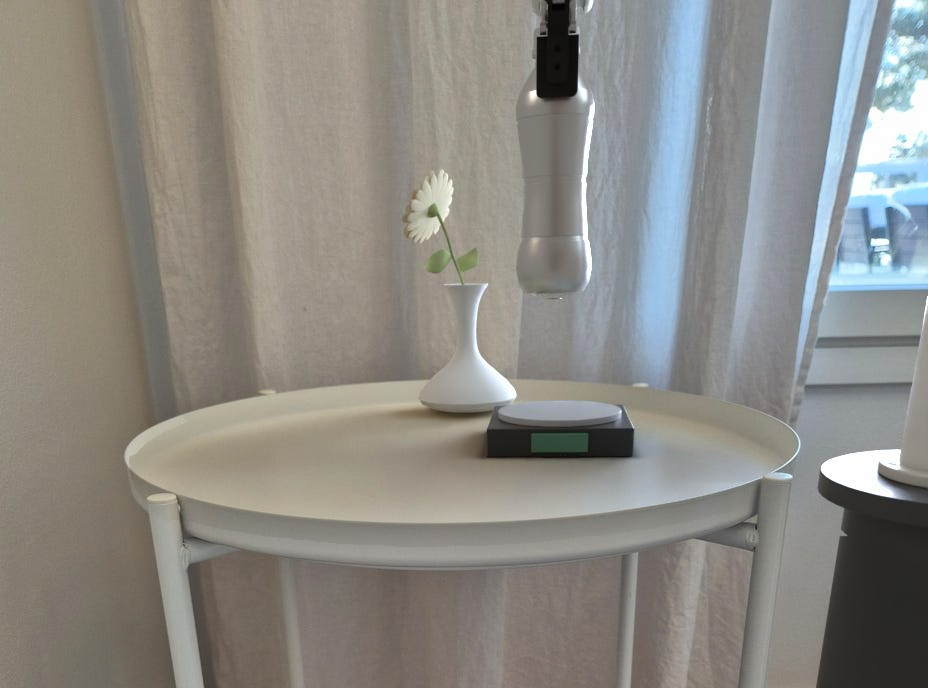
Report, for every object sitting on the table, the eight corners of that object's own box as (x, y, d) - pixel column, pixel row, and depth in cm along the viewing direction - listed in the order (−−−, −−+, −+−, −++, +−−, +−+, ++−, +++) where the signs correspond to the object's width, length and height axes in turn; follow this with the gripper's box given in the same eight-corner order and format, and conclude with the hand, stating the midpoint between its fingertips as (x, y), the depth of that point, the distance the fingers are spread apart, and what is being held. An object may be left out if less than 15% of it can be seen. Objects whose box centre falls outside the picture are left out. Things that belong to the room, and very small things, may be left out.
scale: (622, 429, 91) (623, 398, 90) (633, 457, 78) (635, 422, 77) (495, 430, 92) (495, 399, 91) (486, 458, 80) (486, 423, 79)
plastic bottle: (549, 302, 74) (552, 15, 66) (500, 300, 79) (498, 34, 71) (606, 297, 77) (616, 24, 69) (556, 295, 83) (560, 41, 75)
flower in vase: (476, 400, 111) (473, 175, 101) (536, 410, 102) (540, 166, 92) (388, 413, 104) (375, 172, 94) (445, 425, 95) (438, 162, 85)
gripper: (621, -242, 57) (609, 83, 64) (604, -136, 73) (596, 116, 80) (504, -232, 58) (506, 89, 65) (513, -128, 74) (513, 120, 81)
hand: (556, 101), depth 72 cm, fingers closed on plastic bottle, 6 cm apart
